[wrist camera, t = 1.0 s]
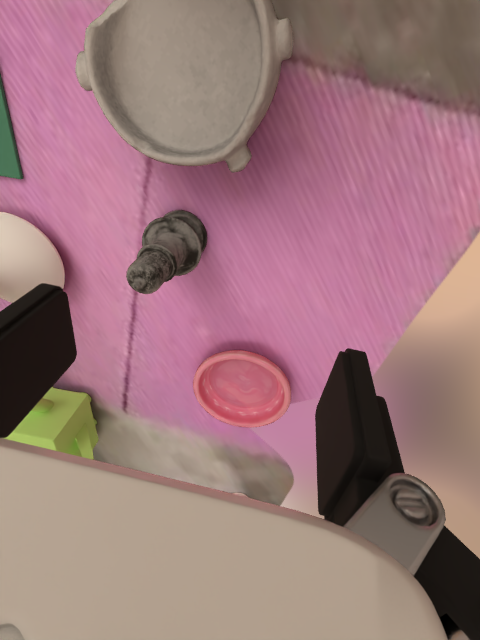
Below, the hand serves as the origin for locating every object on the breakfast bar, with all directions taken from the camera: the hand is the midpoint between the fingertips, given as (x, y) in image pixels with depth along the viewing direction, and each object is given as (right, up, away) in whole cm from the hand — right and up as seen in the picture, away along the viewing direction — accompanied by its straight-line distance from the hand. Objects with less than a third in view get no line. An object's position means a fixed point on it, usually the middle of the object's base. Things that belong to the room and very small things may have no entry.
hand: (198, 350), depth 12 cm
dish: (-2, +21, +16) cm, 27 cm away
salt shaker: (-5, +10, +24) cm, 27 cm away
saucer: (+2, -7, +33) cm, 34 cm away
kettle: (-26, -13, +43) cm, 52 cm away
